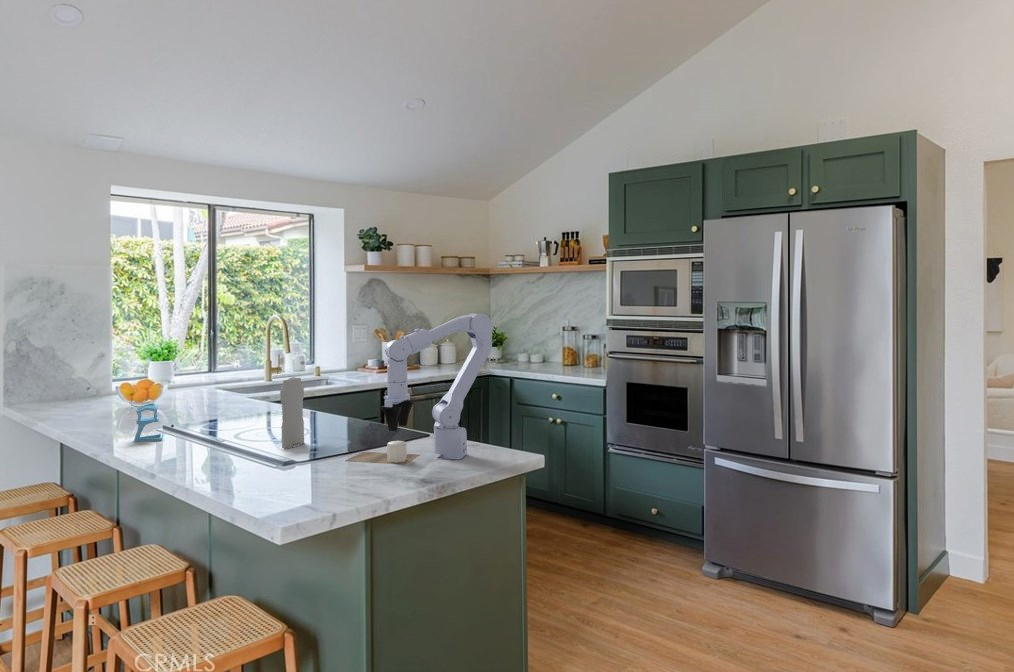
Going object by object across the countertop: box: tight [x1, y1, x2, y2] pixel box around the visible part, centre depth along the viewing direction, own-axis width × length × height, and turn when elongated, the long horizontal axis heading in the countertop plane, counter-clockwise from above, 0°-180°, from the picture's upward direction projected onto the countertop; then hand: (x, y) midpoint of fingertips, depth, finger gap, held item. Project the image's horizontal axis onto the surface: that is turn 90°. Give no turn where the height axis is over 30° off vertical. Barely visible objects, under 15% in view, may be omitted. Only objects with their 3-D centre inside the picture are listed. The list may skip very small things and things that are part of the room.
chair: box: [133, 403, 163, 443], centre depth 234 cm, size 8×8×12 cm
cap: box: [386, 440, 408, 463], centre depth 199 cm, size 5×5×5 cm
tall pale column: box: [279, 376, 305, 449], centre depth 224 cm, size 11×4×22 cm, turn 156°
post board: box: [345, 451, 420, 466], centre depth 202 cm, size 18×12×6 cm, turn 77°
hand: (398, 428), depth 205 cm, fingers open, 7 cm apart
